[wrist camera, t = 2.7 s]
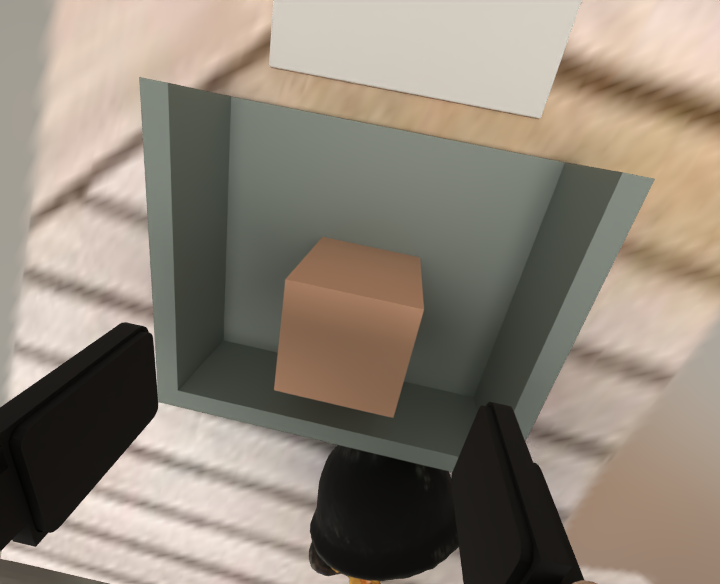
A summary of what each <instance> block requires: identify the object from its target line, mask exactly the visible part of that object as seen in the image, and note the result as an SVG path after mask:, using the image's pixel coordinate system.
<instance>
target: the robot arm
mask: <svg viewBox="0 0 720 584" xmlns="http://www.w3.org/2000/svg"><path fill="white" fill-rule="evenodd" d="M157 410H158V394H157V382H156V369H155V357H154V345H153V336H152V334H151V333H149V332H148V329H147V328H146V327H144V326H140V325H135V324H131V323H126V322H125V323H121V324H119V325H118V326H116V327H115V328H113V329H112V330H110V331H109V332H108V333H106V334H105V335H103V336H102V337H100V338H99V339H98V340H96V341H95V342H93V343H92V344H90V345H89V346H88V347H86V348H85V349H83V350H82V351H80V352H79V353H78V354H76V355H75V356H73V357H72V358H70V359H69V360H68V361H66V362H65V363H63V364H62V365H60V366H59V367H58V368H56V369H55V370H53V371H52V372H50V373H49V374H48V375H46V376H45V377H43V378H42V379H40V380H39V381H37V382H36V383H35V384H33V385H32V386H30V387H29V388H27V389H26V390H25V391H23V392H22V393H20V394H19V395H17V396H16V397H15V398H13V399H12V400H10V401H9V402H7V403H6V404H5V405H3V406H2V407H0V558H1V552H2V549H3V548H4V547H5V546H6V545H7V544H8V543H9V542H10V541H11V540H13V541H14V542H18V543H22V544H27V545H31V546H35V547H36V546H37V545H38V544H39V543H40V541H41V540H42V539H43V538H44V537H45V536H46V535H47V533H48V532H49V533H51V532H54V531H55V530H57V529H58V528H59V527H60V526H61V525H62V524H63V523H64V521H65V520H66V519H67V518H68V517H69V516H70V514H71V513H72V512H73V511H74V510H75V509H76V507H77V506H78V505H79V504H80V503H81V502H82V500H83V499H84V498H85V497H86V496H87V495H88V494H89V492H90V491H91V490H92V489H93V488H94V487H95V485H96V484H97V483H98V482H99V481H100V480H101V478H102V477H103V476H104V475H105V474H106V473H107V471H108V470H109V469H110V468H111V467H112V466H113V464H114V463H115V462H116V461H117V460H118V459H119V457H120V456H121V455H122V454H123V453H124V452H125V450H126V449H127V448H128V447H129V446H130V445H131V443H132V442H133V441H134V440H135V439H136V438H137V436H138V435H139V434H140V433H141V432H142V431H143V430H144V428H145V427H146V426H147V425H148V424H149V423H150V421H151V420H152V419H153V418H154V416H155V415H156V412H157ZM451 486H452V494H453V502H454V510H455V518H456V526H457V534H458V542H459V550H460V558H461V566H462V574H463V582H464V584H596V583H594V582H590V581H584V578H583V576H582V573H581V570H580V568H579V565H578V563H577V560H576V558H575V555H574V553H573V550H572V547H571V545H570V542H569V540H568V537H567V535H566V532H565V529H564V527H563V524H562V522H561V519H560V517H559V514H558V511H557V509H556V506H555V504H554V501H553V499H552V496H551V494H550V491H549V488H548V486H547V483H546V481H545V478H544V476H543V473H542V471H541V469H540V467H539V466H538V465H537V464H536V463H533V461H532V458H531V456H530V453H529V450H528V448H527V445H526V442H525V440H524V437H523V434H522V432H521V429H520V426H519V424H518V421H517V418H516V416H515V413H514V410H513V408H512V407H511V406H508V405H503V404H499V403H494V402H488V403H487V405H486V406H480V407H479V409H478V412H477V414H476V417H475V419H474V421H473V424H472V426H471V429H470V431H469V433H468V436H467V438H466V440H465V443H464V445H463V448H462V450H461V452H460V455H459V457H458V460H457V462H456V464H455V467H454V469H453V472H452V478H451ZM0 584H108V583H104V582H100V581H96V580H91V579H87V578H83V577H78V576H74V575H70V574H65V573H61V572H57V571H53V570H48V569H44V568H40V567H35V566H31V565H27V564H22V563H18V562H13V561H8V560H3V559H0Z"/></svg>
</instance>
